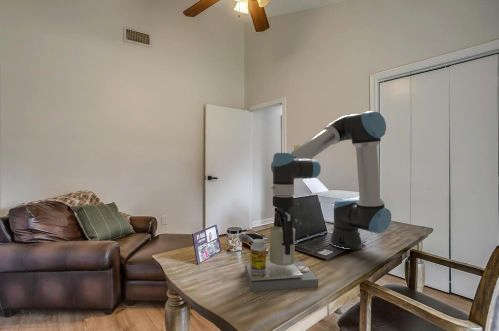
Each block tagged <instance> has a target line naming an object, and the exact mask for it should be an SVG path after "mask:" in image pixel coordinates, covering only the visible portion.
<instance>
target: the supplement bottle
mask: <svg viewBox="0 0 499 331" xmlns="http://www.w3.org/2000/svg"><path fill="white" fill-rule="evenodd" d="M266 261H267V246H266V245H265V241H264V239H261V238H256V239H253V240H252V244H251V245H250V261H249V262H250V268H251V270H253V271H255V272H261V271H264V270H265V269H266Z"/></svg>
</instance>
